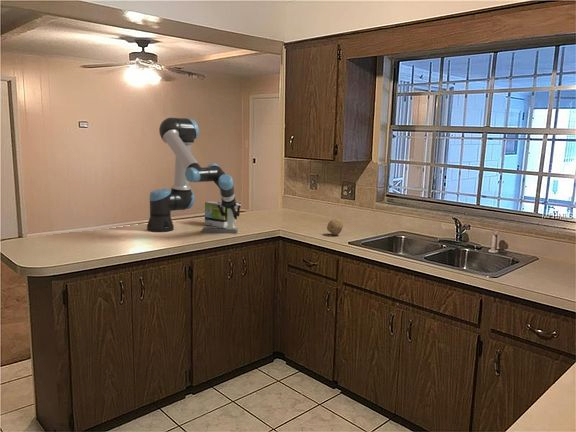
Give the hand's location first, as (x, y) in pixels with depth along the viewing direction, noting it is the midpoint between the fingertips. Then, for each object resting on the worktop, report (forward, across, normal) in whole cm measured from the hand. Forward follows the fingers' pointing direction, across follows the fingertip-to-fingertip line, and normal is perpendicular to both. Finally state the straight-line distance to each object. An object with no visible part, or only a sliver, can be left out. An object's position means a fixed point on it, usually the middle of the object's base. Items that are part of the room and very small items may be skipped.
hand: (231, 221), depth 276 cm
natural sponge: (+4, +61, -5) cm, 61 cm away
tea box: (+16, -10, +8) cm, 20 cm away
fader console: (+2, -6, -6) cm, 9 cm away
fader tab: (0, 0, -5) cm, 5 cm away
